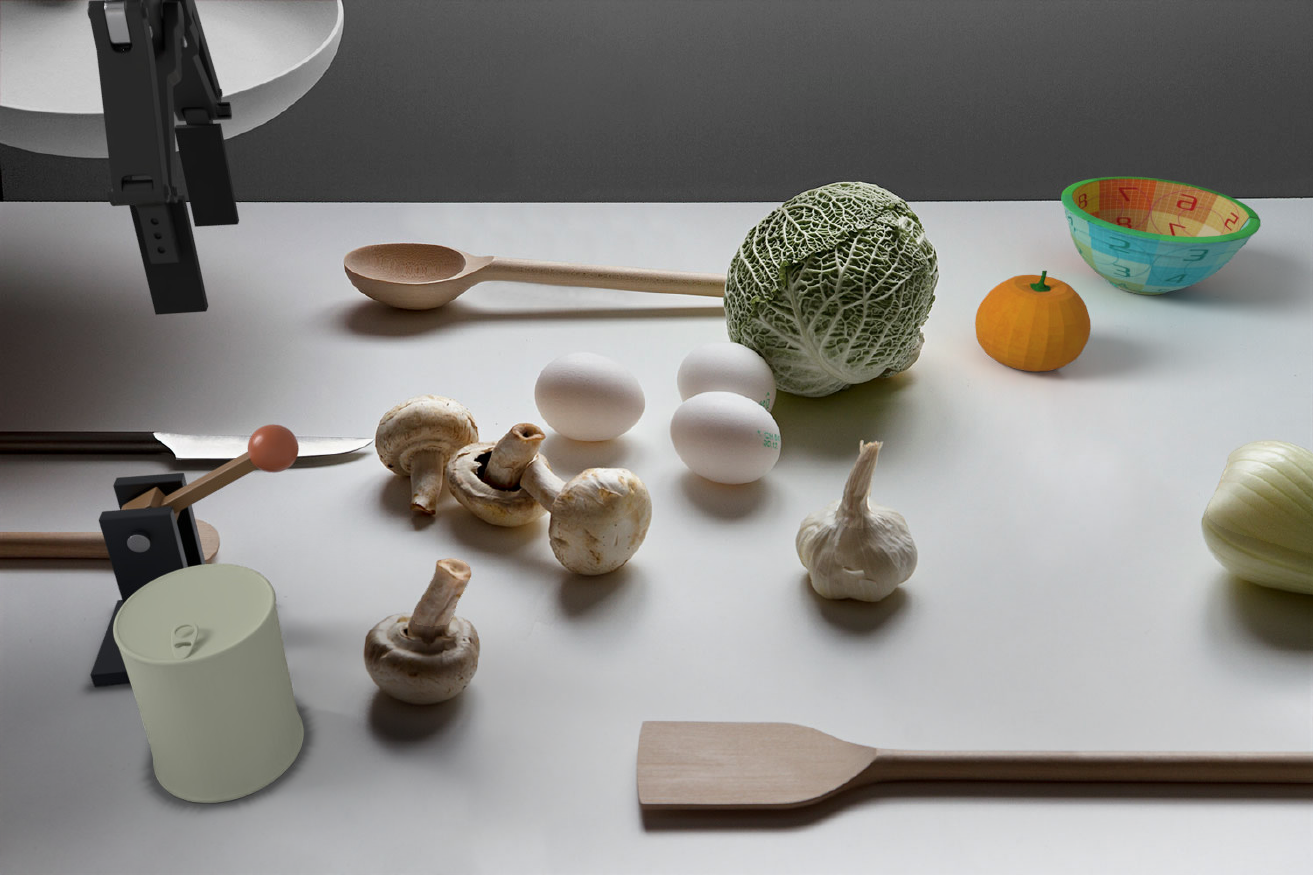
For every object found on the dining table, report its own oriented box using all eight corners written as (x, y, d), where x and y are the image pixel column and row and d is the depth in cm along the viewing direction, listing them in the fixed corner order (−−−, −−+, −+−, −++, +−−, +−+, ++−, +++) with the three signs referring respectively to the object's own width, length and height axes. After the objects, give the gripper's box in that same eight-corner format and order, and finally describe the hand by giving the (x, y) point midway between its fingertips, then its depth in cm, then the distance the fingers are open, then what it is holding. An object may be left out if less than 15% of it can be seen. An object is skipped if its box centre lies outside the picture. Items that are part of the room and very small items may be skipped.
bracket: (260, 599, 86) (230, 457, 79) (245, 672, 79) (211, 524, 72) (121, 612, 84) (78, 468, 78) (94, 687, 78) (44, 537, 71)
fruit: (976, 326, 129) (992, 243, 124) (1084, 344, 125) (1104, 259, 120) (962, 371, 119) (978, 283, 114) (1078, 391, 116) (1100, 302, 111)
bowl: (1026, 295, 136) (1042, 216, 131) (1066, 237, 153) (1081, 164, 148) (1226, 338, 127) (1252, 255, 122) (1245, 270, 144) (1268, 195, 139)
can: (139, 812, 69) (91, 664, 62) (170, 703, 76) (130, 562, 70) (296, 795, 70) (264, 648, 64) (311, 689, 78) (283, 550, 72)
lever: (310, 442, 77) (281, 407, 75) (306, 467, 74) (275, 432, 72) (152, 528, 78) (120, 497, 77) (142, 556, 76) (108, 524, 74)
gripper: (148, -93, 48) (238, 351, 59) (228, -143, 69) (284, 192, 80) (-42, -91, 47) (86, 361, 58) (98, -143, 68) (172, 197, 79)
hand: (201, 264), depth 69 cm, fingers open, 13 cm apart
